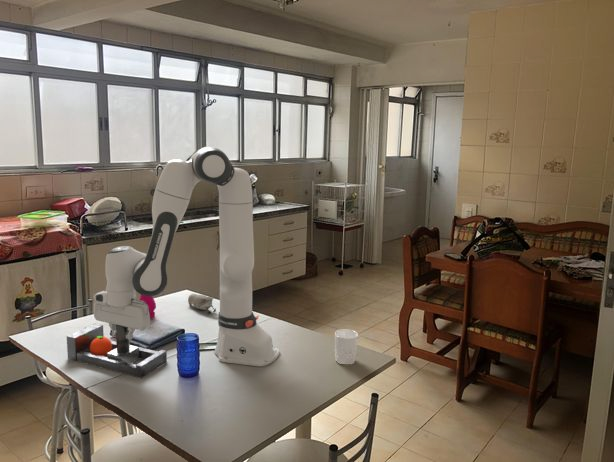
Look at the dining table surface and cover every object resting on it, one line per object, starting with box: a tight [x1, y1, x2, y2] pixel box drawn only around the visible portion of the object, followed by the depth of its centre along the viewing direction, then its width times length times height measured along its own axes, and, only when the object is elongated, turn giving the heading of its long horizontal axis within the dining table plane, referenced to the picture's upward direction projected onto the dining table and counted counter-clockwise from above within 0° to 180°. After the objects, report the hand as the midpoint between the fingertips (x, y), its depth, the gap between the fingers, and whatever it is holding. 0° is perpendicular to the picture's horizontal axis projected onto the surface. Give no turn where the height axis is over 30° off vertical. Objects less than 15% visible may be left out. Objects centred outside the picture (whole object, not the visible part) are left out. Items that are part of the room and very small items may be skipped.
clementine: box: [90, 336, 112, 357], centre depth 168 cm, size 8×7×7 cm
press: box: [66, 323, 168, 379], centre depth 166 cm, size 30×12×8 cm, turn 68°
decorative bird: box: [187, 293, 217, 315], centre depth 215 cm, size 5×16×8 cm, turn 50°
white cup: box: [334, 328, 359, 365], centre depth 171 cm, size 8×8×10 cm
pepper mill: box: [138, 294, 157, 319], centre depth 203 cm, size 7×7×20 cm
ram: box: [106, 325, 140, 364], centre depth 164 cm, size 6×8×13 cm
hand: (122, 337), depth 164 cm, fingers closed on ram, 4 cm apart
